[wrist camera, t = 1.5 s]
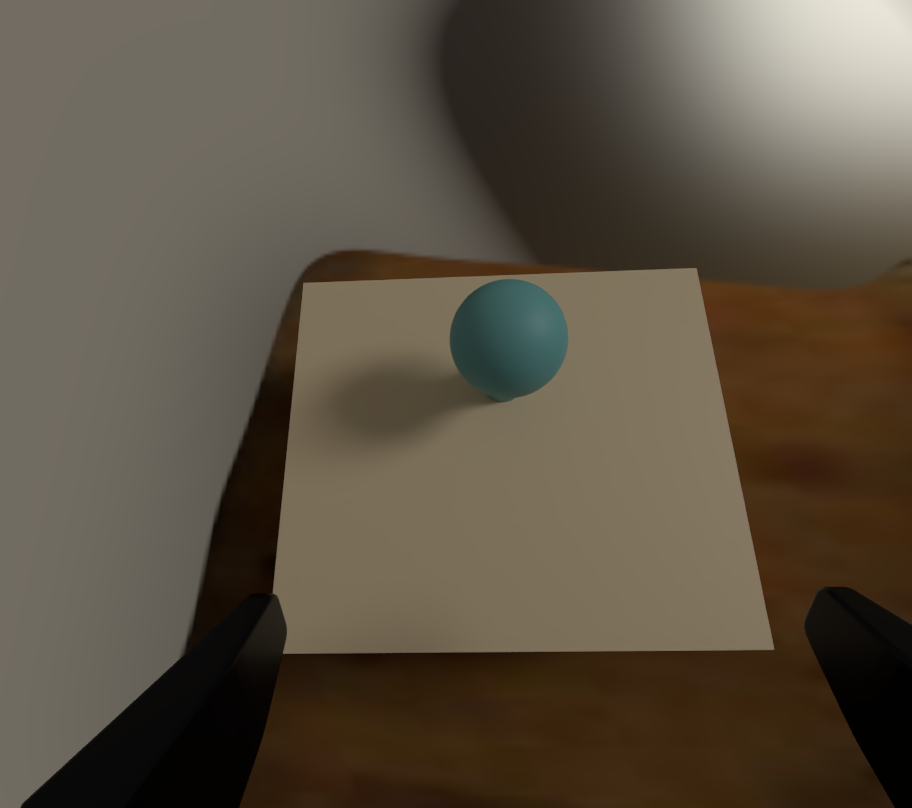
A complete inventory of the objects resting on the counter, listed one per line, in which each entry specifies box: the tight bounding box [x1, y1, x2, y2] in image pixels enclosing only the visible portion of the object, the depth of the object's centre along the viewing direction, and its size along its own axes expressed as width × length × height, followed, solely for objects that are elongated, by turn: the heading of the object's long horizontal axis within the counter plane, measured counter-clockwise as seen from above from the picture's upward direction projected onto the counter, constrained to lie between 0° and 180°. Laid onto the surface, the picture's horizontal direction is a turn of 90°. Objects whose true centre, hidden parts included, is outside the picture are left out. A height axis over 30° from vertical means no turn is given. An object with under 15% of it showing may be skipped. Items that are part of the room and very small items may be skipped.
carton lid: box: [273, 268, 774, 654], centre depth 13 cm, size 12×14×6 cm
